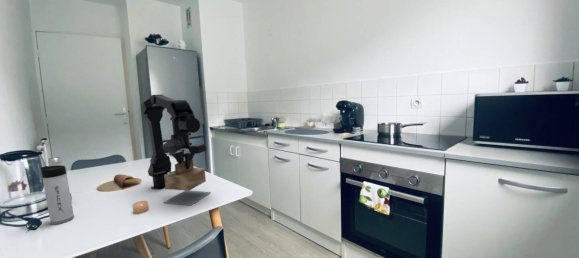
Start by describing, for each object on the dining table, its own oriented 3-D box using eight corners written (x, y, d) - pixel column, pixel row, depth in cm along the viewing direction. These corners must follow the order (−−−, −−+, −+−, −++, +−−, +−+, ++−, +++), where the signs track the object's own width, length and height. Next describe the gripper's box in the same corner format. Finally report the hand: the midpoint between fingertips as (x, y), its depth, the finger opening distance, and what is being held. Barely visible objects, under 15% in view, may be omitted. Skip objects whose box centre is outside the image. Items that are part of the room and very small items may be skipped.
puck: (130, 213, 94) (129, 205, 94) (141, 207, 99) (140, 200, 98) (140, 214, 93) (139, 206, 92) (151, 208, 97) (150, 201, 97)
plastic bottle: (76, 202, 107) (69, 156, 105) (57, 209, 101) (49, 160, 98) (66, 201, 109) (58, 155, 107) (47, 208, 103) (38, 159, 100)
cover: (165, 189, 102) (162, 165, 100) (184, 180, 112) (182, 158, 111) (188, 190, 99) (186, 166, 97) (205, 181, 109) (203, 159, 108)
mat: (163, 203, 102) (163, 202, 102) (185, 191, 114) (185, 190, 114) (191, 205, 98) (191, 204, 98) (210, 192, 110) (210, 192, 110)
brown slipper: (142, 183, 128) (132, 174, 125) (129, 194, 124) (119, 184, 121) (131, 177, 140) (123, 168, 137) (119, 186, 136) (110, 177, 133)
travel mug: (59, 217, 94) (50, 164, 91) (78, 215, 94) (69, 163, 92) (44, 225, 88) (34, 169, 85) (65, 223, 88) (55, 167, 86)
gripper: (146, 134, 98) (151, 174, 100) (187, 134, 92) (191, 176, 94) (167, 130, 108) (171, 166, 110) (205, 130, 103) (208, 167, 105)
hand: (184, 168), depth 105 cm, fingers closed on cover, 2 cm apart
